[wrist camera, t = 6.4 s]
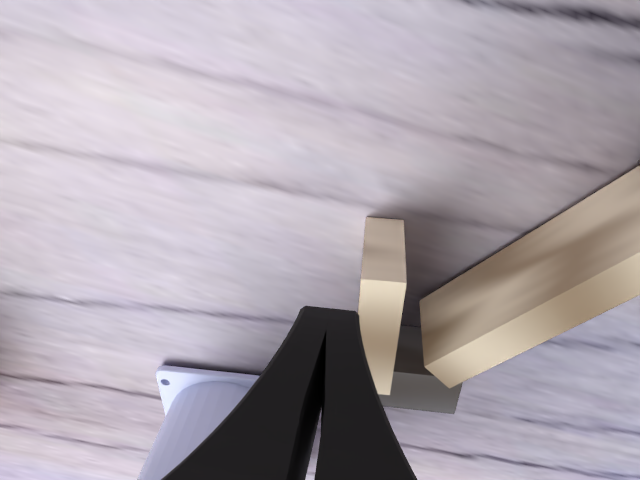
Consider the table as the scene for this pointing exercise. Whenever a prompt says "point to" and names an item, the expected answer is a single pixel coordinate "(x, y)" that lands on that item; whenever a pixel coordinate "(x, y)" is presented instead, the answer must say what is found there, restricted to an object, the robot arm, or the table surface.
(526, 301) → the bar
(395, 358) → the tong pivot
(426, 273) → the table surface
